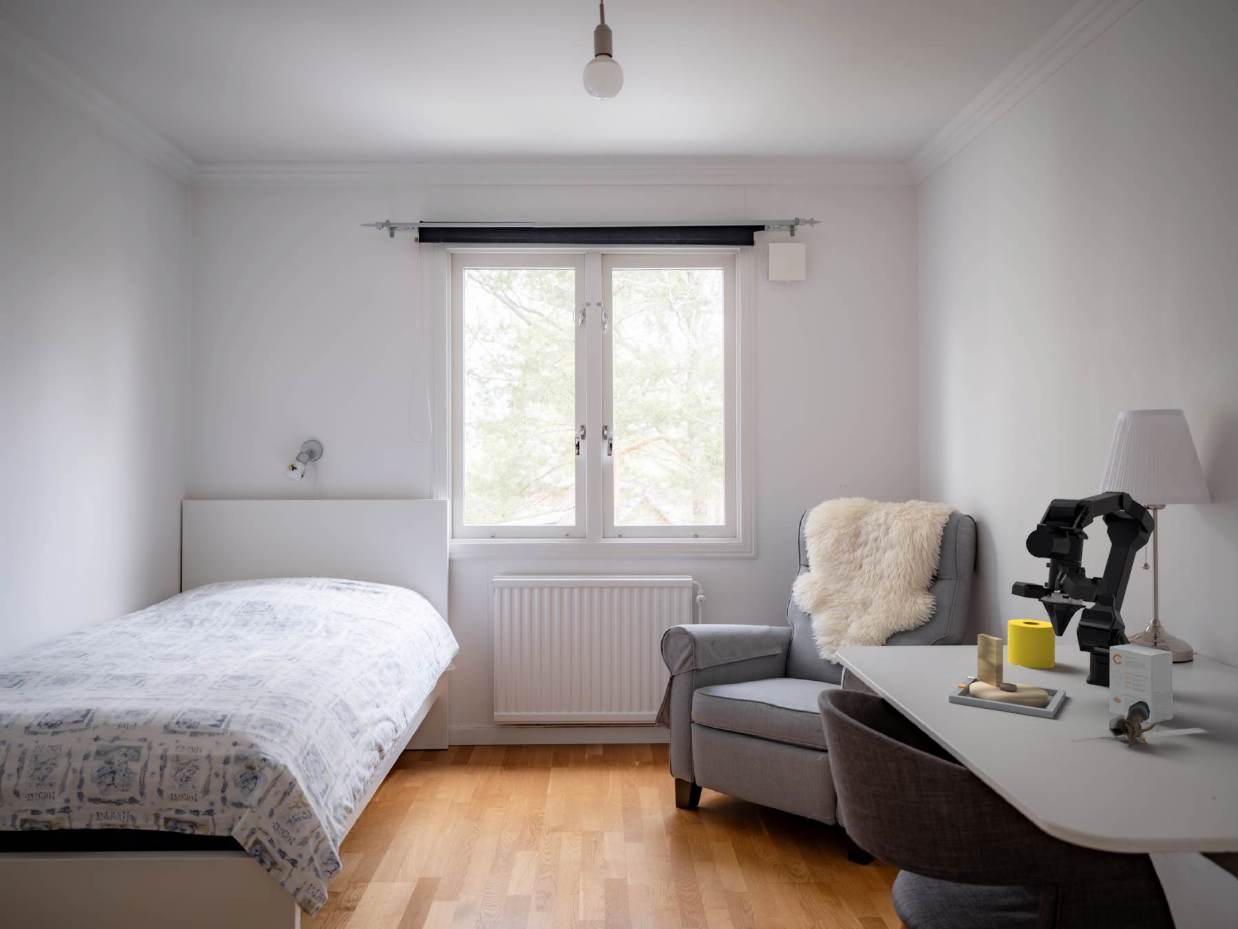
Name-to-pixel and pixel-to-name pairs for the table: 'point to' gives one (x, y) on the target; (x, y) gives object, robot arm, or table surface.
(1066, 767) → the table surface
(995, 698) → the beige disc with bar
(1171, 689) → the small box
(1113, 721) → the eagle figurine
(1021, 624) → the tape roll
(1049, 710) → the bezel plate
